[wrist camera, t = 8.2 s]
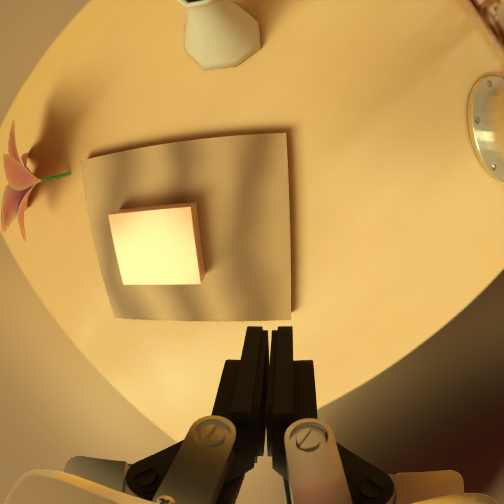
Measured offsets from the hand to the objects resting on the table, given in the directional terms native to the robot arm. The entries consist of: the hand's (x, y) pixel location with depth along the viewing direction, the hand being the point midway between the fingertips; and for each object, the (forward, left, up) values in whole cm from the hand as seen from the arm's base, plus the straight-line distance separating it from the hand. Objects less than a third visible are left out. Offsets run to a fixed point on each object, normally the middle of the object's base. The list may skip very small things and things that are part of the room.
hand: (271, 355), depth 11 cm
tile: (+6, 0, -15) cm, 16 cm away
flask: (+3, -19, -18) cm, 26 cm away
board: (+8, 0, -17) cm, 19 cm away
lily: (+25, -8, -18) cm, 32 cm away
